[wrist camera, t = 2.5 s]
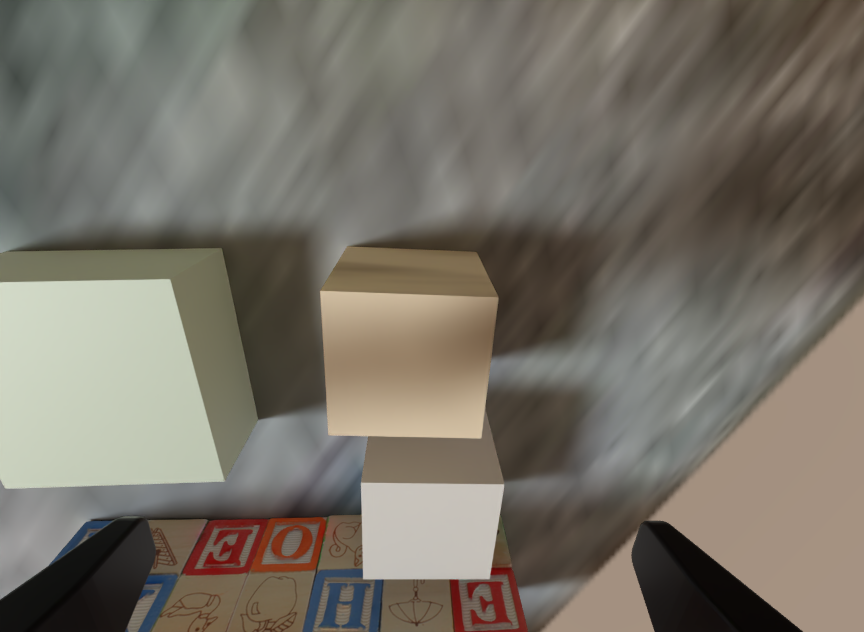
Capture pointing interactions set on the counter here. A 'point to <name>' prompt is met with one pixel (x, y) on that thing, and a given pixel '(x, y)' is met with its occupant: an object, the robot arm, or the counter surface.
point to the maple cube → (407, 343)
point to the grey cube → (430, 507)
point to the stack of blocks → (303, 582)
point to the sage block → (120, 368)
